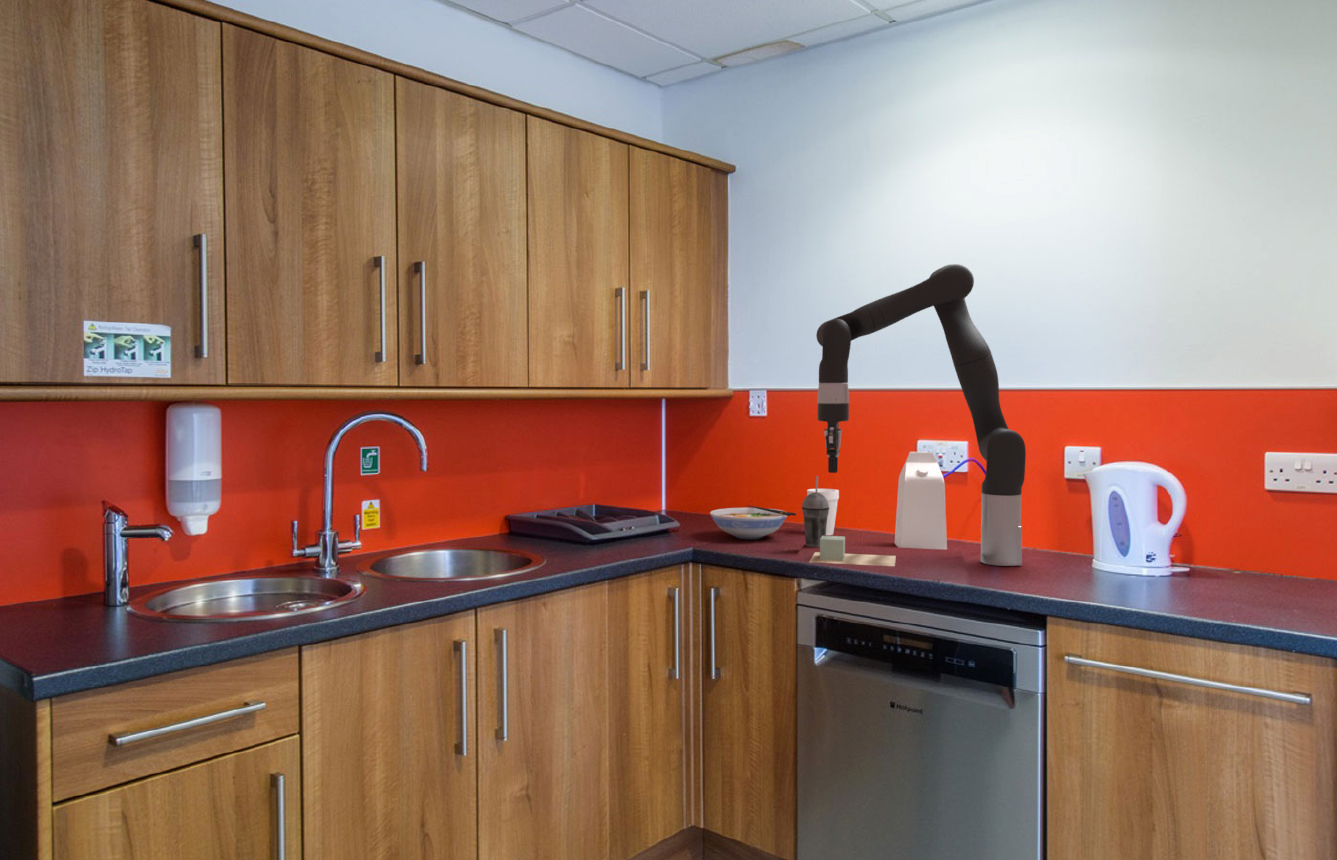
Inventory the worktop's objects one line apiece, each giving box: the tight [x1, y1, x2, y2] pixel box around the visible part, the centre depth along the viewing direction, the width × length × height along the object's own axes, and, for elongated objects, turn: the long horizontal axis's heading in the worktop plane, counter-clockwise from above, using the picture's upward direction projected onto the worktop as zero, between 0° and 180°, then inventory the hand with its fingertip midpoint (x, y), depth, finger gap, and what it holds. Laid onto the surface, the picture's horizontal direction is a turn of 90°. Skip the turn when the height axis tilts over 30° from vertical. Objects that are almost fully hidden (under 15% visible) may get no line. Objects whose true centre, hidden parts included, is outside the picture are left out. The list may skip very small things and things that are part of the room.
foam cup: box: [806, 488, 840, 536], centre depth 271 cm, size 10×9×13 cm
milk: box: [894, 451, 948, 550], centre depth 247 cm, size 12×12×26 cm
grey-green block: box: [819, 535, 846, 561], centre depth 223 cm, size 6×6×5 cm
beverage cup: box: [801, 475, 829, 548], centre depth 241 cm, size 7×7×20 cm
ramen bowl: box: [709, 504, 797, 540], centre depth 264 cm, size 25×23×8 cm
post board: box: [808, 551, 897, 567], centre depth 222 cm, size 20×14×6 cm
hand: (833, 472), depth 222 cm, fingers closed
